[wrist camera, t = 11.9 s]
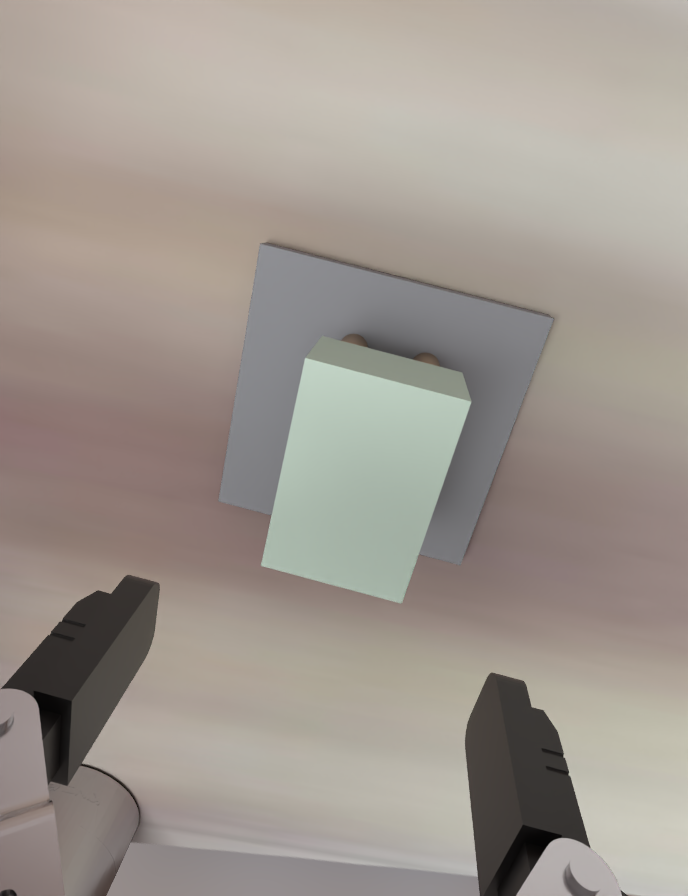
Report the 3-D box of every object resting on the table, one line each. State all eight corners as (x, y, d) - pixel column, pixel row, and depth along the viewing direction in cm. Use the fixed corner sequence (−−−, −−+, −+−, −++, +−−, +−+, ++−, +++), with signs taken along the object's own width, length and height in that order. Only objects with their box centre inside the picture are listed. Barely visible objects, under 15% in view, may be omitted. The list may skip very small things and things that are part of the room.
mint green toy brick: (455, 351, 27) (471, 401, 20) (404, 510, 31) (401, 603, 23) (334, 319, 27) (305, 357, 20) (297, 482, 31) (261, 565, 23)
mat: (458, 553, 33) (460, 565, 31) (224, 491, 33) (218, 501, 32) (548, 314, 27) (553, 318, 26) (266, 242, 27) (260, 243, 26)
